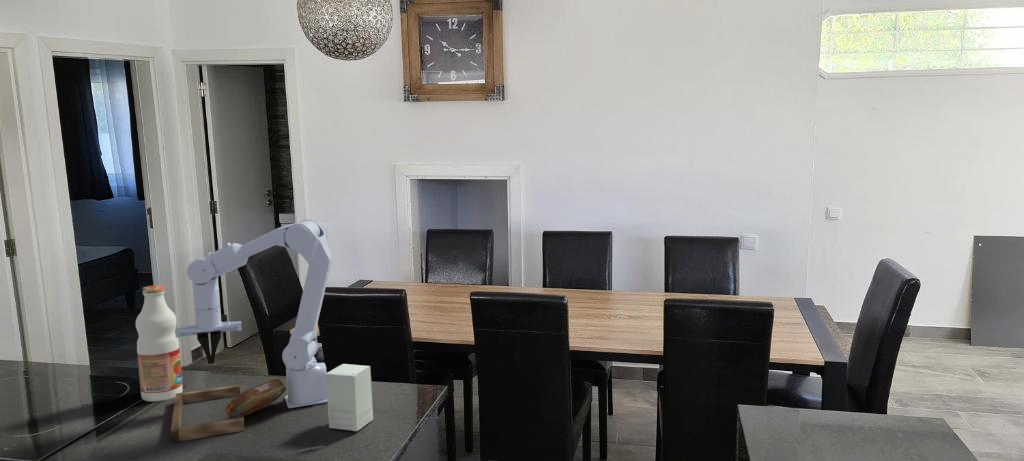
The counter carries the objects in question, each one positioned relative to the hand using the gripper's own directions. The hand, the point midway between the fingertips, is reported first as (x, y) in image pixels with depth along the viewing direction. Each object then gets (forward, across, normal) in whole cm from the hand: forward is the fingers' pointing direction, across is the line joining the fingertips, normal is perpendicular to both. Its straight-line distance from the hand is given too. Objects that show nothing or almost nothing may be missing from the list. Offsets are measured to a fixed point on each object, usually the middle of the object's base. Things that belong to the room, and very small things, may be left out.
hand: (211, 362), depth 169 cm
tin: (+9, -7, +10) cm, 15 cm away
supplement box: (+11, -28, +27) cm, 40 cm away
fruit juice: (+11, +12, -12) cm, 20 cm away
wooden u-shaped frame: (+10, +1, +8) cm, 13 cm away
